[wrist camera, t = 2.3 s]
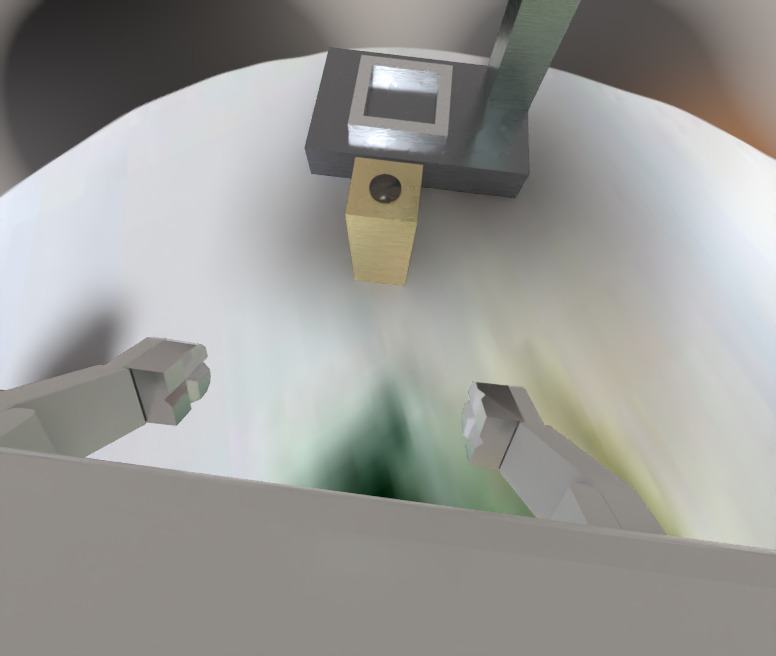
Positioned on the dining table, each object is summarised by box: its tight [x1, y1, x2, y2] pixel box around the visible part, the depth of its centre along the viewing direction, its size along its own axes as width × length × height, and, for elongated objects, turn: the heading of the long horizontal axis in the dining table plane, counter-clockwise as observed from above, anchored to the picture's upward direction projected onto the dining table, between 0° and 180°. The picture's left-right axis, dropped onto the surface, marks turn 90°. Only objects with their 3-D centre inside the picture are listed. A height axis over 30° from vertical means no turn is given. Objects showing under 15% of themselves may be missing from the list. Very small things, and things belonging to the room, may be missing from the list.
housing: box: [345, 157, 423, 286], centre depth 24 cm, size 4×4×9 cm
